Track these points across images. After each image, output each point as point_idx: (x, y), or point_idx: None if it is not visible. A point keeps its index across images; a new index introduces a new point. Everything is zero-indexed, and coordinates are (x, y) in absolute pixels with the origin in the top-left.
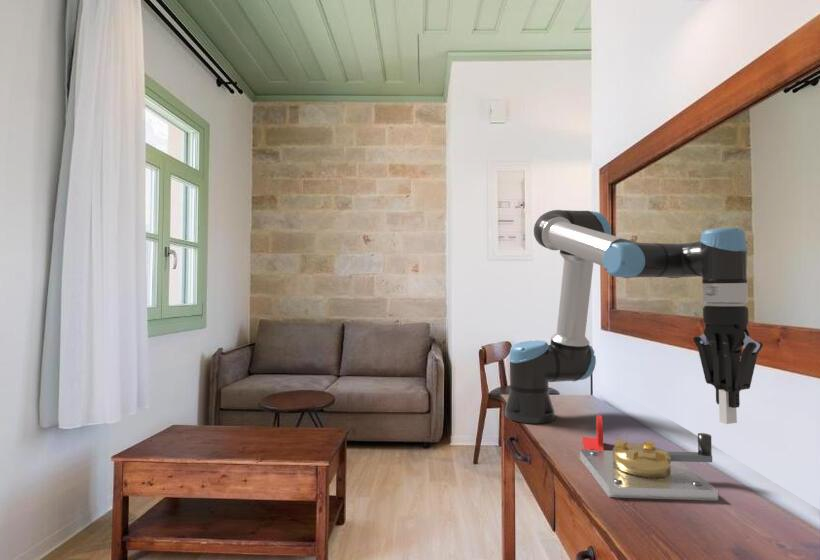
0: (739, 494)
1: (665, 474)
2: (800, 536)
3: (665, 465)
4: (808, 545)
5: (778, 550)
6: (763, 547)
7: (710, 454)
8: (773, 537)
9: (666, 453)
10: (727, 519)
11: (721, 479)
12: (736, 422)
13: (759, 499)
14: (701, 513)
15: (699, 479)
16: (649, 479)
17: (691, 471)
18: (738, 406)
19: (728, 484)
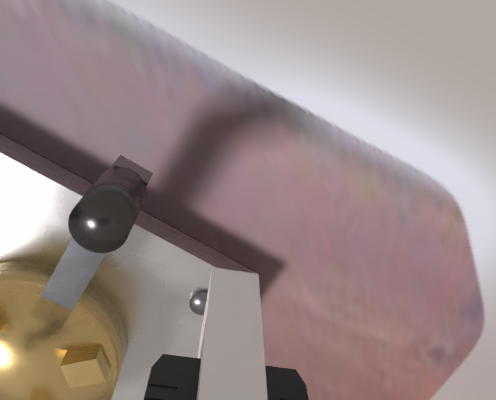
0: (264, 177)
1: (125, 340)
2: (454, 284)
3: (118, 361)
4: (475, 308)
5: (440, 374)
6: (418, 386)
7: (145, 194)
8: (417, 335)
9: (98, 371)
10: (322, 342)
11: (167, 107)
12: (257, 276)
13: (314, 160)
14: (273, 363)
15: (183, 264)
16: (118, 380)
17: None
18: (297, 378)
19: (204, 129)
